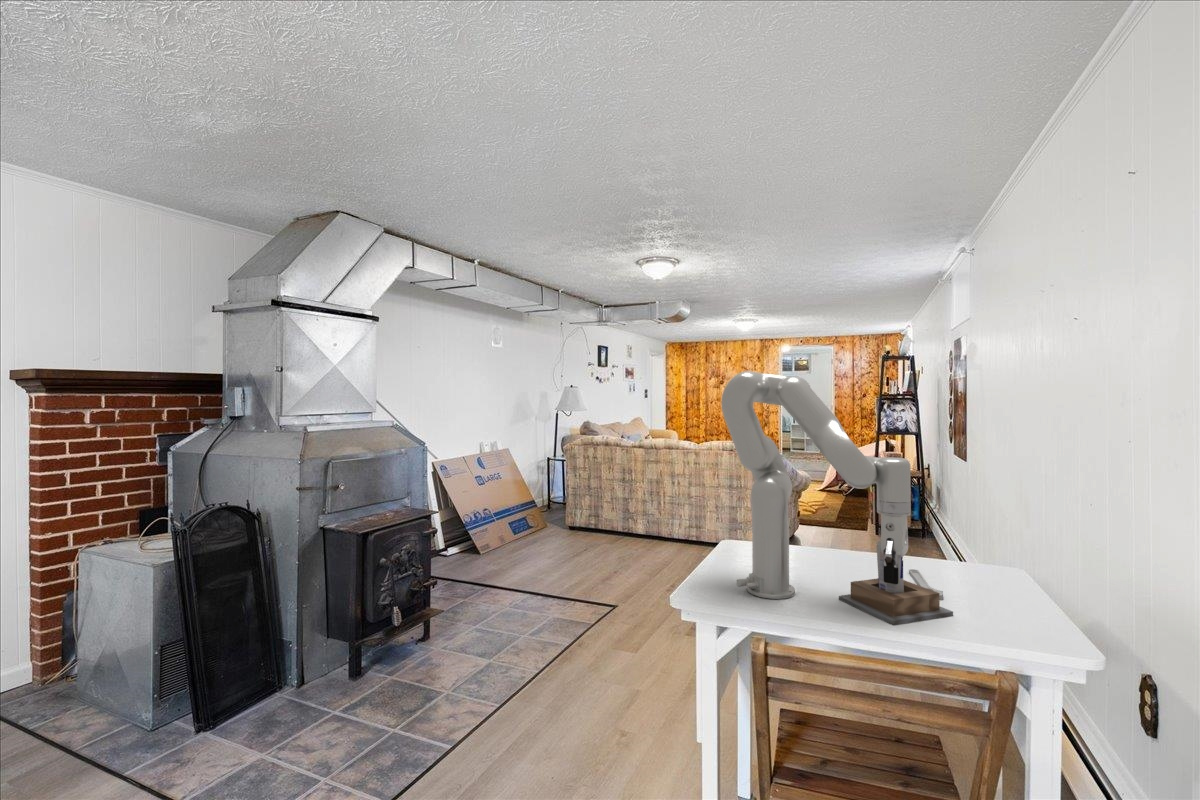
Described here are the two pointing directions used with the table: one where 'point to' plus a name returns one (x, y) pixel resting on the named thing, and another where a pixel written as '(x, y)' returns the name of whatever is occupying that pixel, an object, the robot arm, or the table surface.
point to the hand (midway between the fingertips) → (893, 578)
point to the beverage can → (882, 585)
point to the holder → (896, 602)
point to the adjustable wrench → (922, 581)
